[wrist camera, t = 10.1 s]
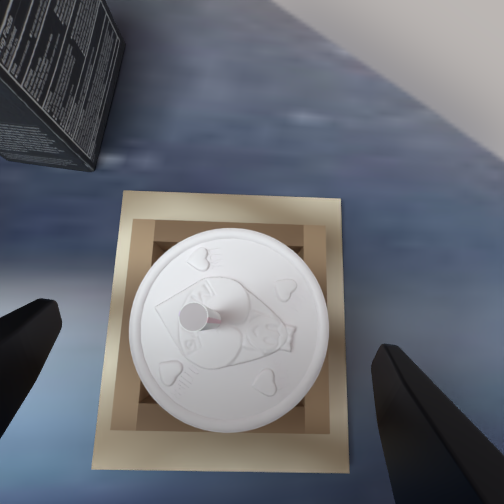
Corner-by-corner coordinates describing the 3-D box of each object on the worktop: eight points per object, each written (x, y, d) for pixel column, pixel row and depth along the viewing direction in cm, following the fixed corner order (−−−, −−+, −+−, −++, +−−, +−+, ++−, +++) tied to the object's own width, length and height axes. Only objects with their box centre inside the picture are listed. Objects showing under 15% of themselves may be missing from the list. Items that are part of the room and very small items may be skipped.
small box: (41, 32, 25) (-100, -175, 15) (128, 43, 25) (49, -155, 15) (-1, 162, 22) (-201, 25, 12) (96, 174, 23) (-24, 49, 12)
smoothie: (196, 260, 21) (109, 134, 7) (298, 283, 20) (413, 201, 7) (168, 367, 19) (-11, 472, 6) (277, 392, 19) (367, 564, 5)
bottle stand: (345, 467, 19) (370, 501, 15) (97, 463, 19) (62, 497, 15) (337, 203, 23) (356, 179, 19) (127, 195, 22) (105, 169, 18)
